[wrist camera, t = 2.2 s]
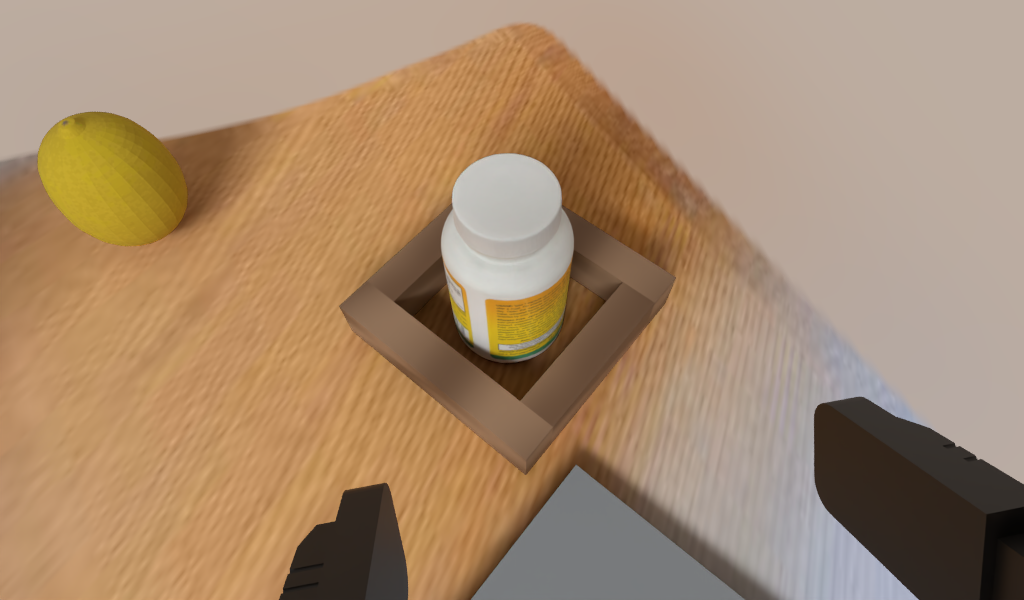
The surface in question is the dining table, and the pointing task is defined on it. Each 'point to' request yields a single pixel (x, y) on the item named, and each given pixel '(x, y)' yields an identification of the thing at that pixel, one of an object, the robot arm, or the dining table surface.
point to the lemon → (112, 178)
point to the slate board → (597, 554)
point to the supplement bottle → (507, 257)
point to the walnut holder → (470, 392)
